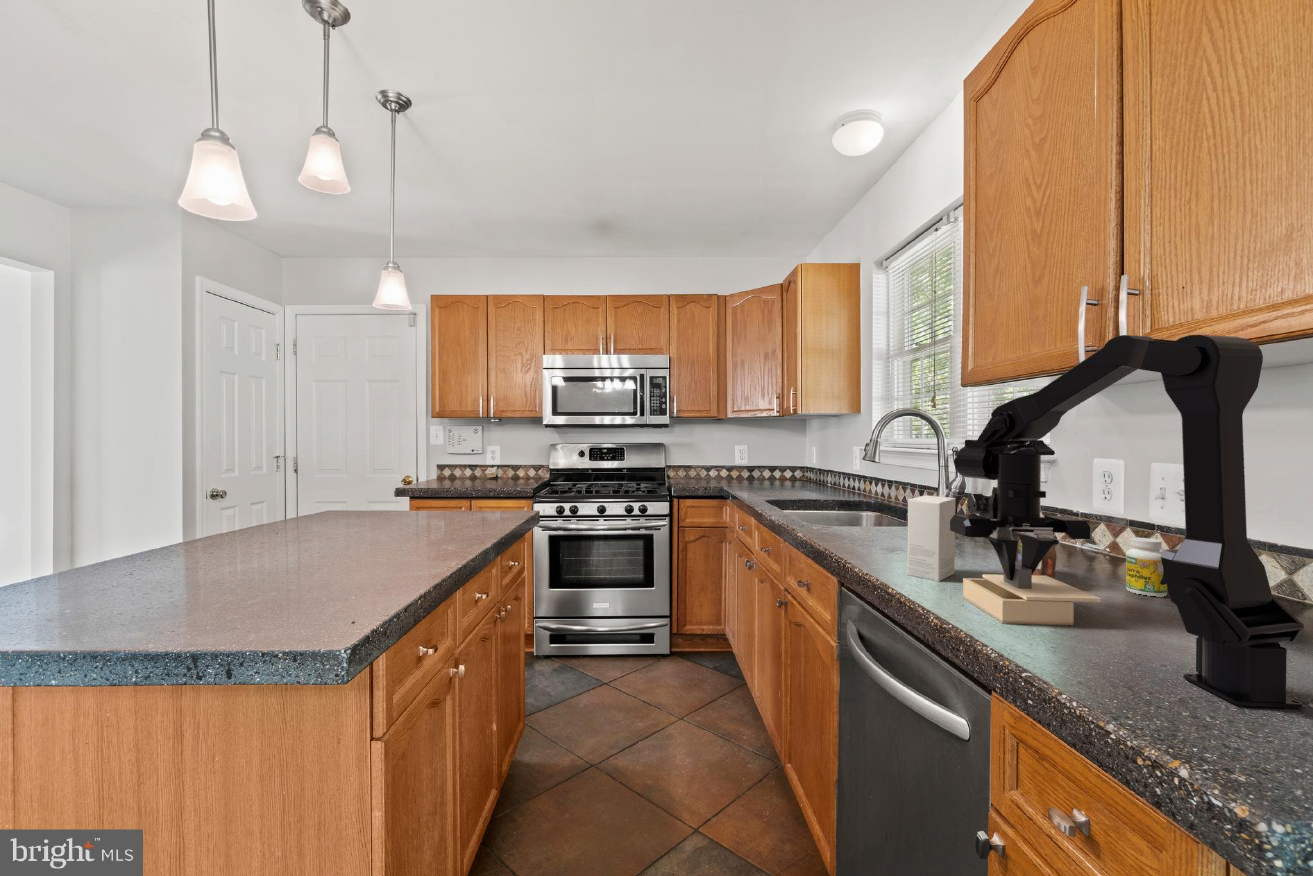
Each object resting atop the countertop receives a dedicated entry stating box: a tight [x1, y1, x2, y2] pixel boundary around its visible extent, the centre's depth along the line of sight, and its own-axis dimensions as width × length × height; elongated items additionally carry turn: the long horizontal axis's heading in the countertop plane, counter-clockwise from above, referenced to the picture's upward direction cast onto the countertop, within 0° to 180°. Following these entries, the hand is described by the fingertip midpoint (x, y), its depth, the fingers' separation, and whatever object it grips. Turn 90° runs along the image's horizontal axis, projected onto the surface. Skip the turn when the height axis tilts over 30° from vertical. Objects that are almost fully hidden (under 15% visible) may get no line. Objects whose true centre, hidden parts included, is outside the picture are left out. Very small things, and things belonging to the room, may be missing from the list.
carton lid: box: [982, 563, 1102, 603], centre depth 84 cm, size 12×10×4 cm
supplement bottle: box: [1125, 537, 1168, 598], centre depth 94 cm, size 5×5×10 cm
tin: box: [1016, 532, 1057, 579], centre depth 103 cm, size 15×3×8 cm, turn 161°
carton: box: [962, 577, 1075, 626], centre depth 85 cm, size 12×10×4 cm
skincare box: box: [906, 494, 956, 583], centre depth 106 cm, size 8×7×16 cm
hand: (1017, 580), depth 84 cm, fingers closed on carton lid, 2 cm apart
